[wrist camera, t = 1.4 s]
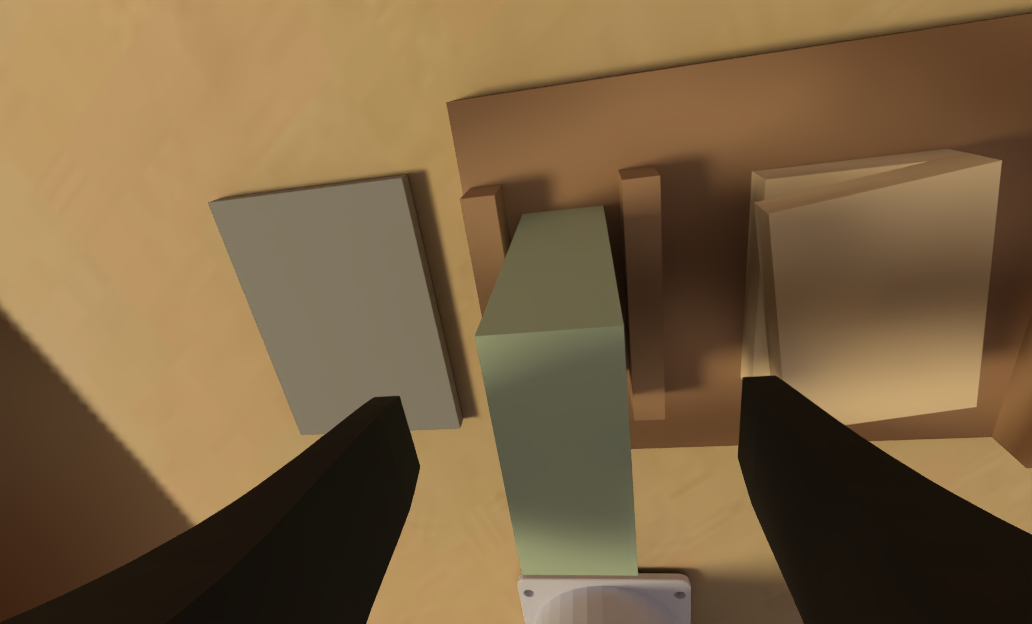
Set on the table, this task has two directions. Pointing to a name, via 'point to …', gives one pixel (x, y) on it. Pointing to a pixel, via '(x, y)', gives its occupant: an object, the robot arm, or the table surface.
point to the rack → (726, 200)
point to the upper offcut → (881, 288)
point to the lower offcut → (789, 182)
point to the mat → (343, 299)
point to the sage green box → (561, 396)
